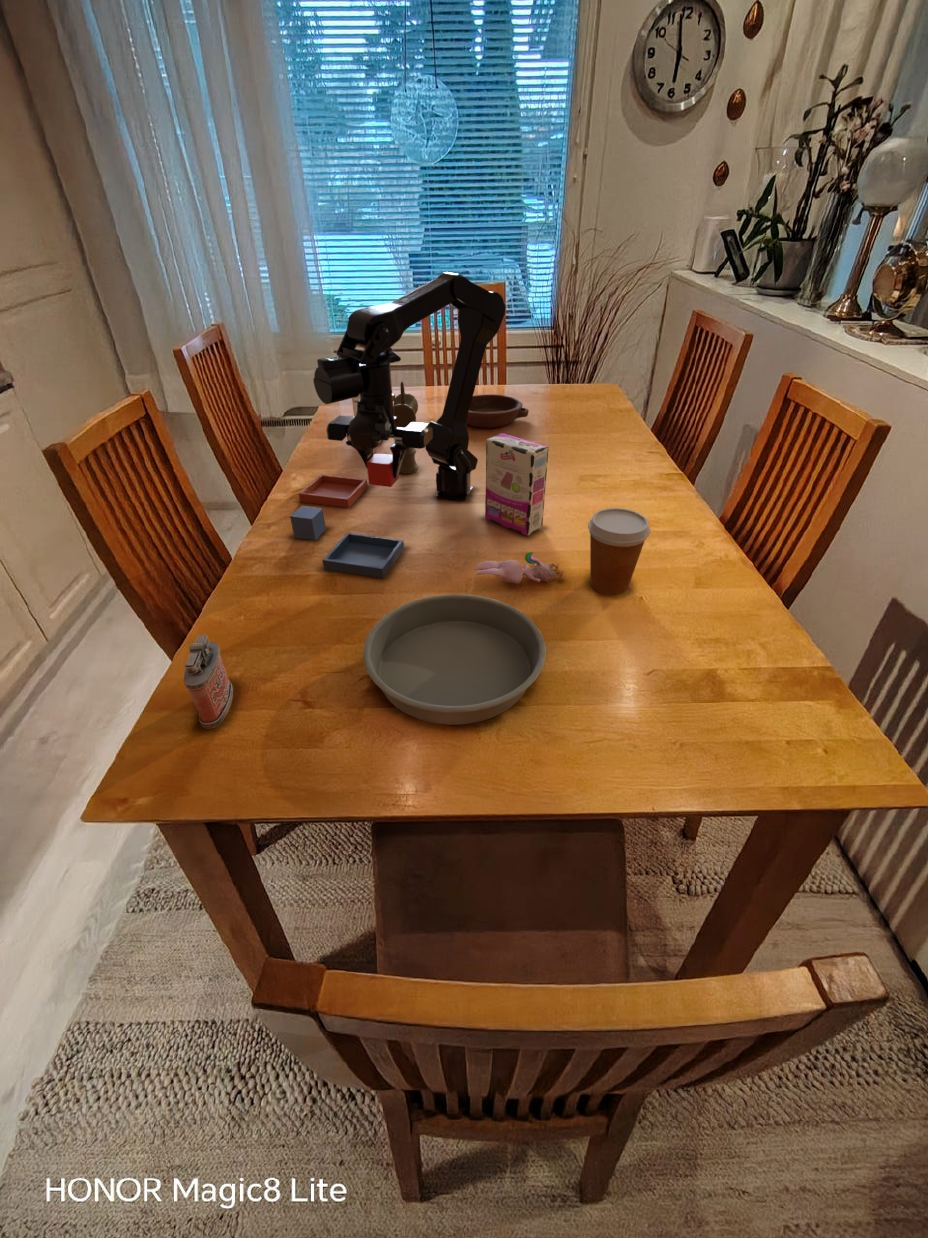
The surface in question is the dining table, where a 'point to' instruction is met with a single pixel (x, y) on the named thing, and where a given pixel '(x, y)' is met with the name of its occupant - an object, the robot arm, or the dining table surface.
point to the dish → (494, 410)
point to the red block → (381, 470)
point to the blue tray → (364, 555)
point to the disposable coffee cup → (615, 548)
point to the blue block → (308, 522)
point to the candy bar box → (515, 483)
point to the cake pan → (454, 657)
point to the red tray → (333, 490)
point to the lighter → (208, 682)
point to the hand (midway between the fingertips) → (383, 475)
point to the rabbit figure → (519, 570)
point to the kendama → (405, 415)
